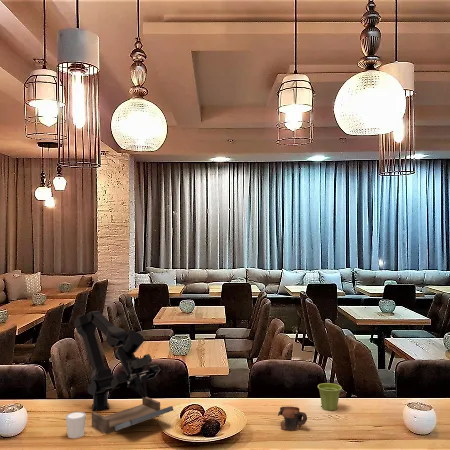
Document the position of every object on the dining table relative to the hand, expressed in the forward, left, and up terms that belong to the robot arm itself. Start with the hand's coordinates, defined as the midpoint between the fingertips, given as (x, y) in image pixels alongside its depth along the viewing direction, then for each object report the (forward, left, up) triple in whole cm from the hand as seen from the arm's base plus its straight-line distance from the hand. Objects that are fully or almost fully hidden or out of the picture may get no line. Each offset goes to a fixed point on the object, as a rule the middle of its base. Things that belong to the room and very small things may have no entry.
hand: (145, 396), depth 179 cm
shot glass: (-3, -24, -12) cm, 27 cm away
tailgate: (-6, -3, -10) cm, 12 cm away
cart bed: (-10, -6, -12) cm, 17 cm away
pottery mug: (+12, +52, -12) cm, 55 cm away
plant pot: (-1, +74, -12) cm, 75 cm away
